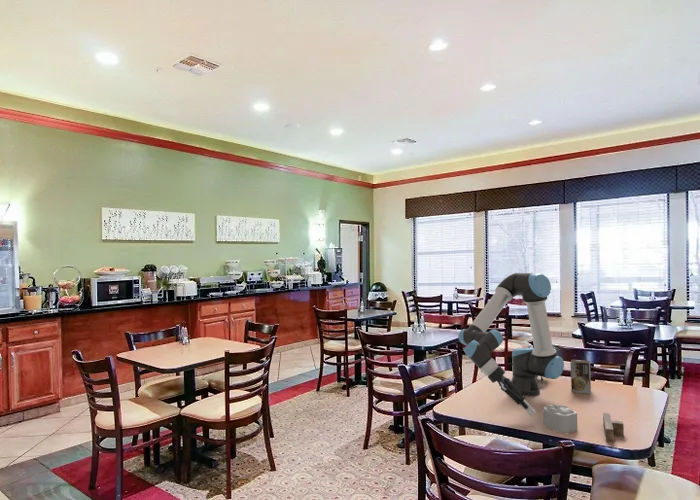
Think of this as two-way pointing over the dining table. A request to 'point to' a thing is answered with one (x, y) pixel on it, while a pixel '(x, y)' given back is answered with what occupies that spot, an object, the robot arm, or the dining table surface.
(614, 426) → the t stop
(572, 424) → the lumpy-topped squat cylinder
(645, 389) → the dining table surface
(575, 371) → the coffee box
